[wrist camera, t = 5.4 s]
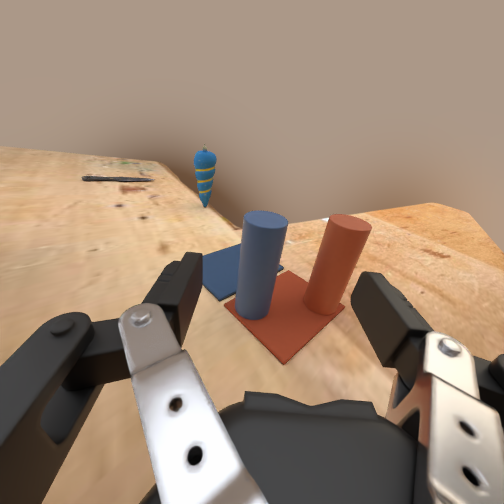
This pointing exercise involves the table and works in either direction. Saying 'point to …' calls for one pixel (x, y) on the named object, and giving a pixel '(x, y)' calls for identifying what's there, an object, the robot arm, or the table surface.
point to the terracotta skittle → (335, 262)
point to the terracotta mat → (286, 318)
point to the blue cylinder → (259, 262)
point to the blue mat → (222, 271)
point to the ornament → (204, 173)
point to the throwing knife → (114, 178)
